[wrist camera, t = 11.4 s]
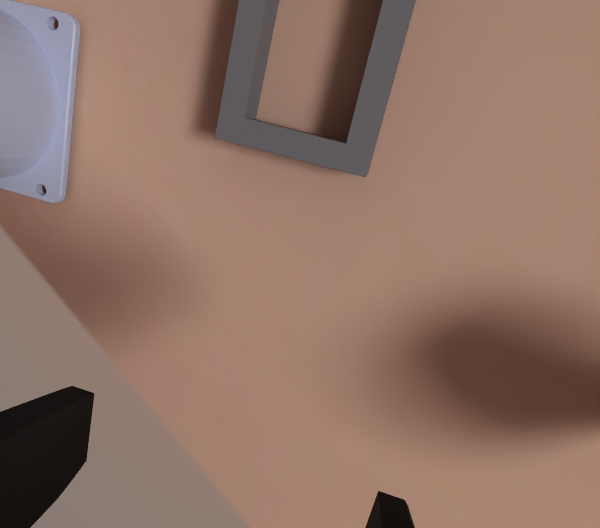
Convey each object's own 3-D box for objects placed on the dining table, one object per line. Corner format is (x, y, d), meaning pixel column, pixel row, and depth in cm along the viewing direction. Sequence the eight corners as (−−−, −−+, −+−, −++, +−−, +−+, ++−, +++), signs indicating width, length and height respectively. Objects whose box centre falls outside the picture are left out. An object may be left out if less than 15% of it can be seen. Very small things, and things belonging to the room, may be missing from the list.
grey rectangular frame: (228, 138, 20) (214, 137, 18) (270, -97, 17) (259, -118, 16) (367, 174, 19) (365, 177, 18) (433, -66, 16) (437, -85, 15)
